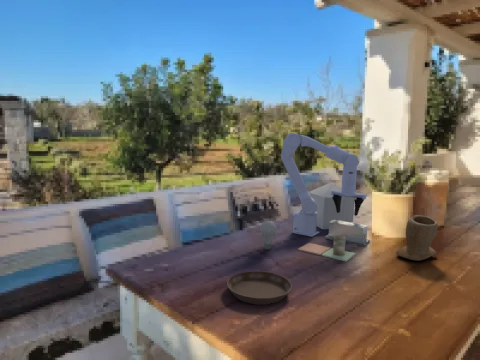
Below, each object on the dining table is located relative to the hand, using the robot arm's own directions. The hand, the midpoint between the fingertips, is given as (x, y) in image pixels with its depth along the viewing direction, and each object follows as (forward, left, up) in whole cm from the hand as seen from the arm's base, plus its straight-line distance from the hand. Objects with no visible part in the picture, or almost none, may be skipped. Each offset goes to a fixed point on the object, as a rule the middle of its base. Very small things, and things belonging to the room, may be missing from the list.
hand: (347, 213), depth 152 cm
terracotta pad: (-2, -26, -9) cm, 27 cm away
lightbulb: (-16, -37, -10) cm, 41 cm away
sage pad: (+7, -26, -9) cm, 28 cm away
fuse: (+7, -26, -9) cm, 28 cm away
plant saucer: (+1, -68, -10) cm, 69 cm away
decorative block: (-13, +13, -10) cm, 21 cm away
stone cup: (+30, -9, -10) cm, 33 cm away
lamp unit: (+3, -7, -9) cm, 12 cm away
